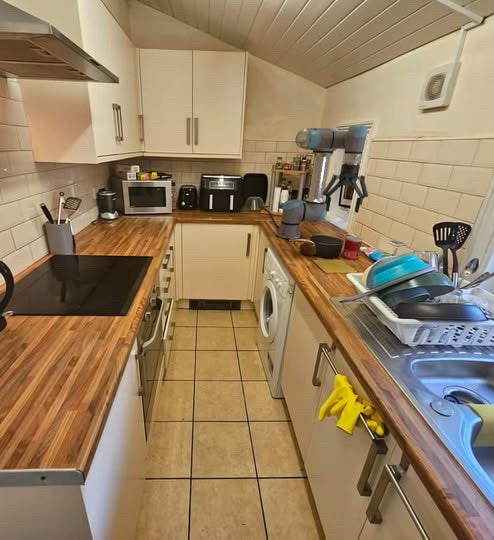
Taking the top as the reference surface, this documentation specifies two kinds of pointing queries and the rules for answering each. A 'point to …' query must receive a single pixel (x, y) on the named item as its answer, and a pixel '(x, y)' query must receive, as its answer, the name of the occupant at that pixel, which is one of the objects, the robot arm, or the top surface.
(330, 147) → the robot arm
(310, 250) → the potato
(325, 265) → the tea towel
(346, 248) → the canned food
